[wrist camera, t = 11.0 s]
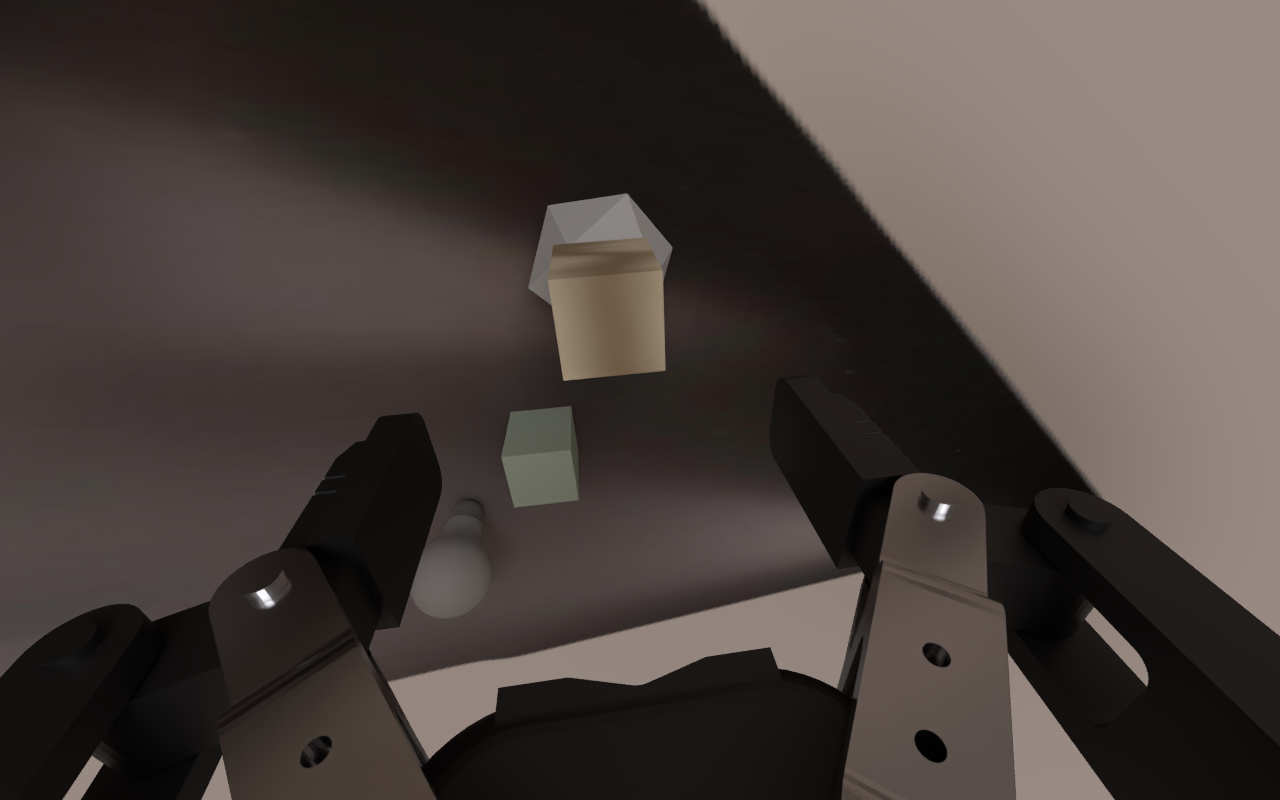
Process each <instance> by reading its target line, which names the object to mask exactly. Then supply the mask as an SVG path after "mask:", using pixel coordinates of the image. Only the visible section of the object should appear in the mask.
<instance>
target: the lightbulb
mask: <svg viewBox="0 0 1280 800" xmlns="http://www.w3.org/2000/svg"><path fill="white" fill-rule="evenodd" d="M482 513H483V510H482V507H481V506H480V505H479V504H478V503H477V502H475V501H471V500H464V501H461V502H459V503H457V504H456V506H455V507H454V509H453V512H452V515H451V517H450V519H449V520H448V521H447V522H446V524H445V527H444V529H443V531H442V532H441V534H440V535H439V536H438V537H437V538H436V539H435V540H434V541H432V542H431V543H430V544H429V545H428V546H426V547H425V548H424V550H423V553H422V556H421V559H420V562H419V566H418V569H417V572H416V575H415V578H414V582H413V585H412V588H411V591H410V595H411V598H412V600H413V602H414V603H415V605H416V606H417V607H418V608H419V609H420V610H421V611H422V612H424V613H425V614H427V615H430V616H432V617H435V618H441V619H449V618H455V617H459V616H462V615H464V614H466V613H468V612H469V611H471V610H472V609H474V608H475V607H476V606H477V605H478V604H479V603H480V602H481V601H482V600H483V598H484V597H485V595H486V594H487V591H488V589H489V587H490V584H491V579H492V565H491V561H490V558H489V556H488V553H487V551H486V549H485V548H484V546H483V543H482V529H483V528H482V524H481V521H482Z"/></svg>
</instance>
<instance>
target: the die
mask: <svg viewBox="0 0 1280 800" xmlns="http://www.w3.org/2000/svg"><path fill="white" fill-rule="evenodd" d="M644 237H646V238H647V240H648V242H649V244H650V246H651V248H652V250H653V252H654V254H655V256H656V258H657V260H658V262H659V264H660V266H661V268H662V270H663V280H664V277H665V273H666V270H667V266H668V262H669V259H670V255H671V252H672V248H673V247H672V246H671V245H670V244H669V243H668V241H667V240H666V239H665V238H664V237H663V236H662V234H661V233H660V232H659V231H658V230H657V228H656V227H655V226H654V225H653V224H652V222H651V221H650V220H649V219H648V218H647V216H646V215H645V214H644V213H643V212H642V211H641V209H640V208H639V207H638V206H637V205H636V203H635V202H634V201H633V200H632V199H631V197H630V196H629V195H628V194H621V195H614V196H608V197H601V198H594V199H588V200H581V201H575V202H568V203H561V204H555V205H548V207H547V212H546V216H545V220H544V224H543V228H542V232H541V236H540V241H539V245H538V249H537V253H536V257H535V261H534V266H533V270H532V274H531V278H530V282H529V286H528V288H529V289H530V290H531V291H533V292H534V293H535V294H537V295H538V296H539V297H541V298H542V299H543V300H545V301H546V302H547V303H549V304H550V305H551V306H552V304H551V297H550V291H549V284H548V276H549V269H550V263H551V256H552V250H553V245H557V244H569V243H582V242H594V241H607V240H619V239H631V238H644Z"/></svg>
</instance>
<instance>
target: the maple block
mask: <svg viewBox="0 0 1280 800" xmlns="http://www.w3.org/2000/svg"><path fill="white" fill-rule="evenodd" d="M548 284H549V291H550V297H551V304H552V310H553V316H554V323H555V329H556V336H557V342H558V349H559V355H560V361H561V368H562V374H563V381H566V380H576V379H586V378H596V377H606V376H616V375H626V374H636V373H646V372H656V371H665V337H664V299H663V270H662V268H661V266H660V264H659V262H658V260H657V258H656V256H655V254H654V252H653V250H652V248H651V246H650V244H649V242H648V240H647V238H646V237H644V238H631V239H619V240H607V241H594V242H582V243H569V244H557V245H553V250H552V256H551V263H550V269H549V276H548Z"/></svg>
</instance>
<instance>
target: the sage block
mask: <svg viewBox="0 0 1280 800" xmlns="http://www.w3.org/2000/svg"><path fill="white" fill-rule="evenodd" d="M501 458H502V462H503V466H504V470H505V473H506V477H507V481H508V485H509V489H510V493H511V497H512V500H513V504H514V508H516V507H524V506H533V505H541V504H550V503H558V502H567V501H575V500H579V469H578V448H577V441H576V434H575V427H574V421H573V414H572V407H571V406H566V407H557V408H547V409H537V410H527V411H518V412H511V413H510V418H509V422H508V427H507V432H506V437H505V442H504V447H503V452H502V457H501Z"/></svg>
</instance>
